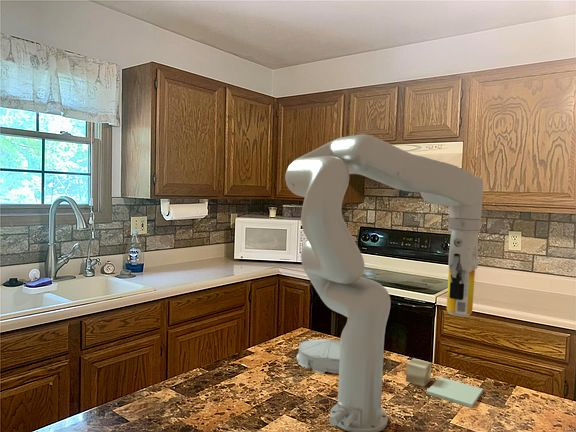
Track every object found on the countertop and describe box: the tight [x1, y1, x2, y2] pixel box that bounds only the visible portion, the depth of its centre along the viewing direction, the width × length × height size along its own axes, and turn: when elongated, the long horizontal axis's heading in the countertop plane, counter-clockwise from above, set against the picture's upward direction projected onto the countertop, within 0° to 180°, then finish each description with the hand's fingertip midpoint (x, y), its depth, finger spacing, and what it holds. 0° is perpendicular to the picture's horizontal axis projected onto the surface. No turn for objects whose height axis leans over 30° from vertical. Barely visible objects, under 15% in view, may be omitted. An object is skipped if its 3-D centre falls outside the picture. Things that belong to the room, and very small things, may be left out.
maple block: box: [405, 357, 432, 387], centre depth 120 cm, size 5×5×5 cm
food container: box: [296, 338, 340, 374], centre depth 132 cm, size 20×20×7 cm
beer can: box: [446, 259, 476, 318], centre depth 111 cm, size 6×6×15 cm
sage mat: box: [425, 376, 484, 409], centre depth 113 cm, size 11×11×1 cm
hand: (460, 295), depth 111 cm, fingers closed on beer can, 6 cm apart
